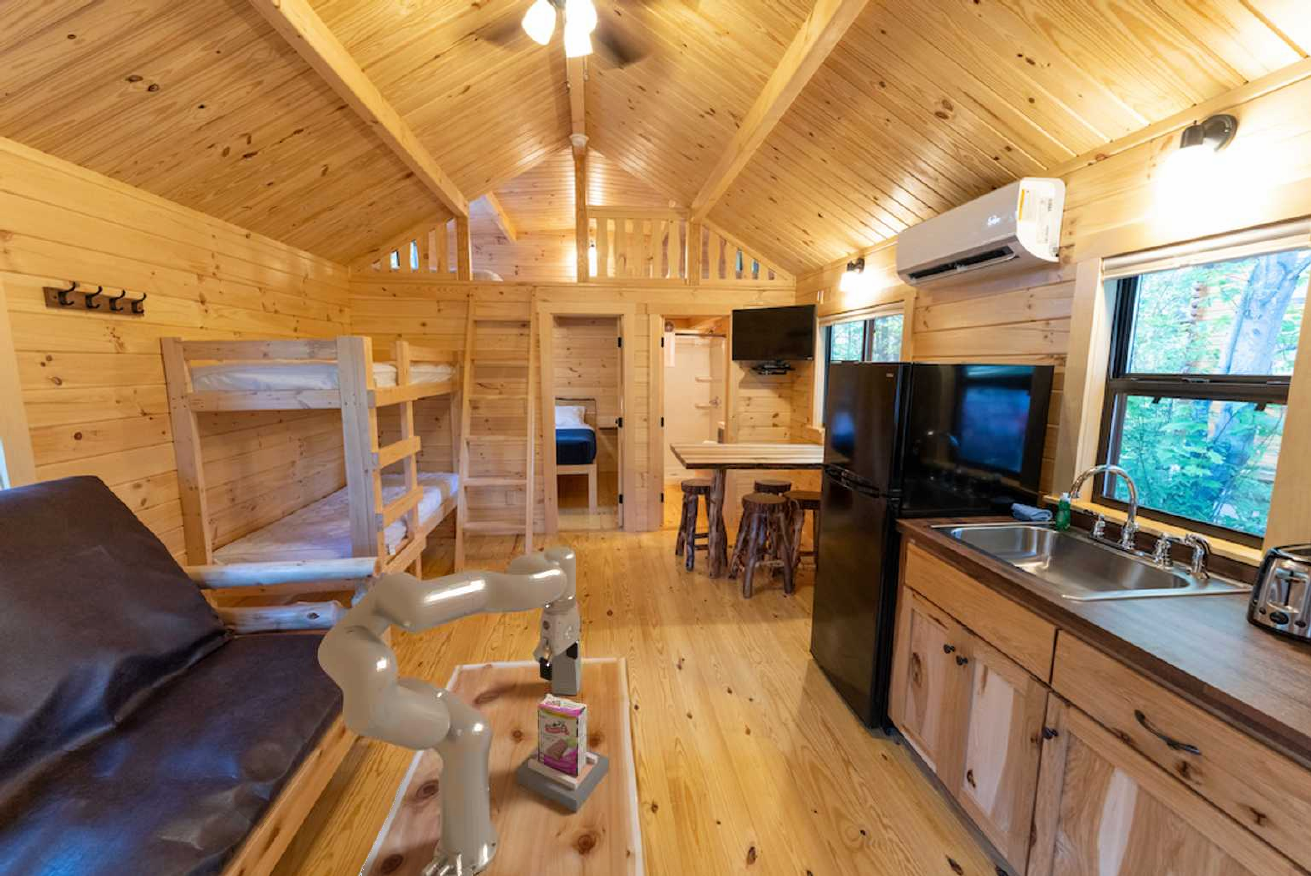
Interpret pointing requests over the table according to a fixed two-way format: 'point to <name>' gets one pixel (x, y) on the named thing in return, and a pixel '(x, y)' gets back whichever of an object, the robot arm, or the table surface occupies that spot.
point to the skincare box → (566, 674)
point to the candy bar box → (562, 734)
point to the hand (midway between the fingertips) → (559, 667)
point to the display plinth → (563, 779)
